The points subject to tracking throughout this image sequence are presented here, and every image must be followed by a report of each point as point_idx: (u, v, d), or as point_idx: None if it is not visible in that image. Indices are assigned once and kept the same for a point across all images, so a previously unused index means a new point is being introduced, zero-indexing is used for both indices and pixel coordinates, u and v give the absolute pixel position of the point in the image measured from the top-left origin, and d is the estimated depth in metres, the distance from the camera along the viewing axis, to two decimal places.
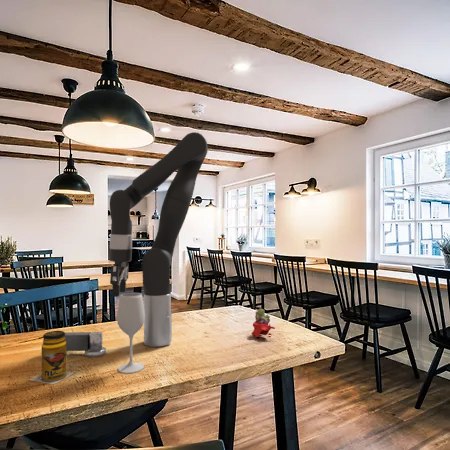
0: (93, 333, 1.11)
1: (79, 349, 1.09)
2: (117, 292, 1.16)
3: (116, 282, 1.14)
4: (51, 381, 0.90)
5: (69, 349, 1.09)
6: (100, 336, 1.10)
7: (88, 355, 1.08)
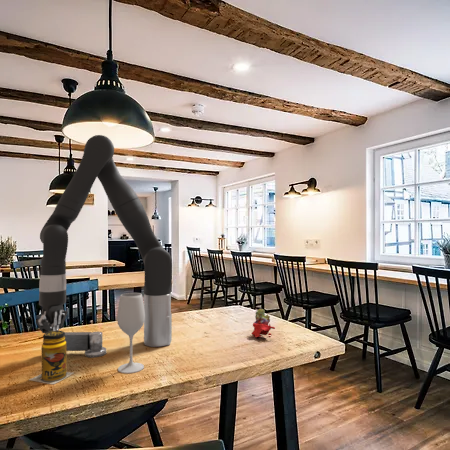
0: (93, 333, 1.11)
1: (79, 349, 1.09)
2: None
3: (48, 331, 1.04)
4: (51, 381, 0.90)
5: (69, 349, 1.09)
6: (100, 336, 1.10)
7: (88, 355, 1.08)
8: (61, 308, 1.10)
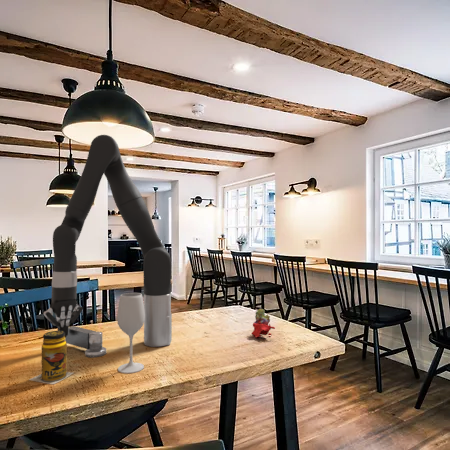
0: (94, 333, 1.11)
1: (82, 346, 1.12)
2: None
3: (54, 324, 1.11)
4: (51, 381, 0.90)
5: (76, 344, 1.14)
6: (97, 337, 1.09)
7: (88, 355, 1.08)
8: (74, 304, 1.16)
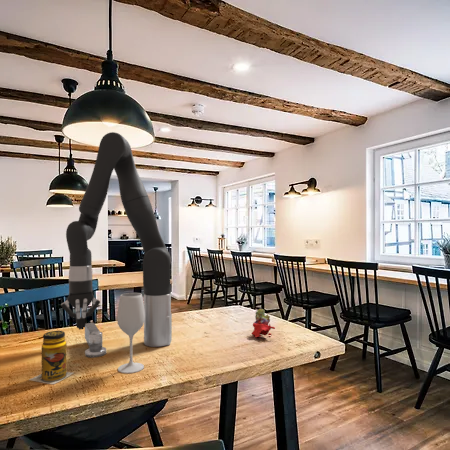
0: (95, 332, 1.11)
1: (88, 344, 1.14)
2: (77, 325, 1.19)
3: (71, 315, 1.18)
4: (51, 381, 0.90)
5: (87, 341, 1.17)
6: (93, 337, 1.09)
7: (88, 355, 1.08)
8: (90, 297, 1.20)
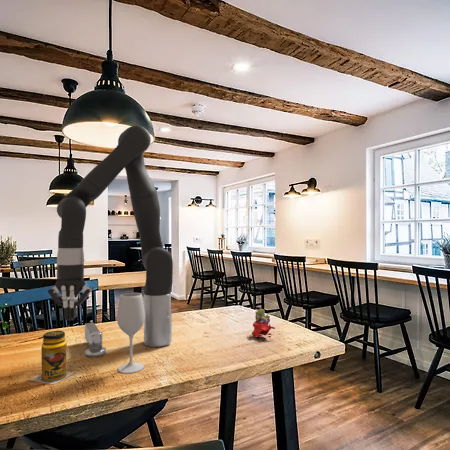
0: (95, 332, 1.11)
1: (88, 344, 1.14)
2: (65, 315, 1.05)
3: None
4: (51, 381, 0.90)
5: (87, 341, 1.17)
6: (93, 337, 1.09)
7: (88, 355, 1.08)
8: (78, 284, 1.05)
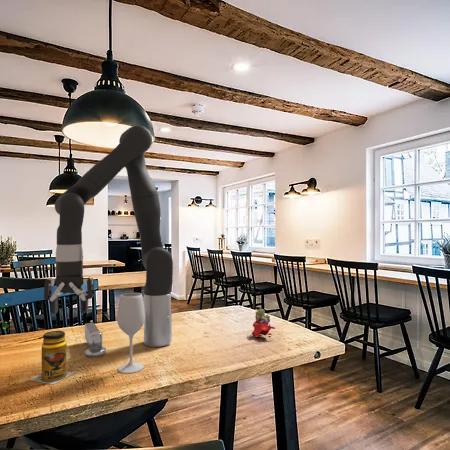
0: (95, 332, 1.11)
1: (88, 344, 1.14)
2: (51, 308, 1.04)
3: None
4: (51, 381, 0.90)
5: (87, 341, 1.17)
6: (93, 337, 1.09)
7: (88, 355, 1.08)
8: (77, 281, 1.04)
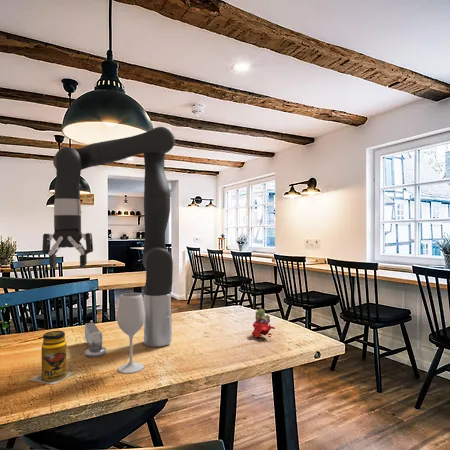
0: (95, 332, 1.11)
1: (88, 344, 1.14)
2: (50, 263, 1.05)
3: None
4: (51, 381, 0.90)
5: (87, 341, 1.17)
6: (93, 337, 1.09)
7: (88, 355, 1.08)
8: (76, 236, 1.05)
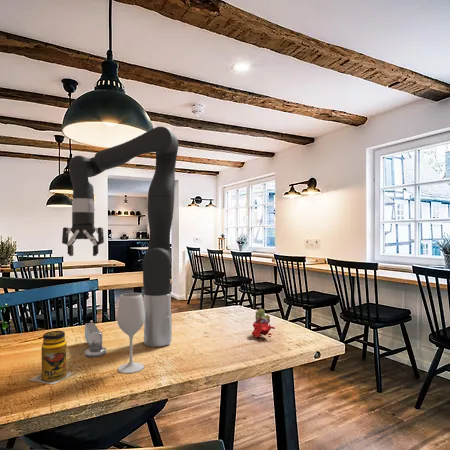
0: (95, 332, 1.11)
1: (88, 344, 1.14)
2: (68, 252, 1.26)
3: None
4: (51, 381, 0.90)
5: (87, 341, 1.17)
6: (93, 337, 1.09)
7: (88, 355, 1.08)
8: (90, 229, 1.26)
